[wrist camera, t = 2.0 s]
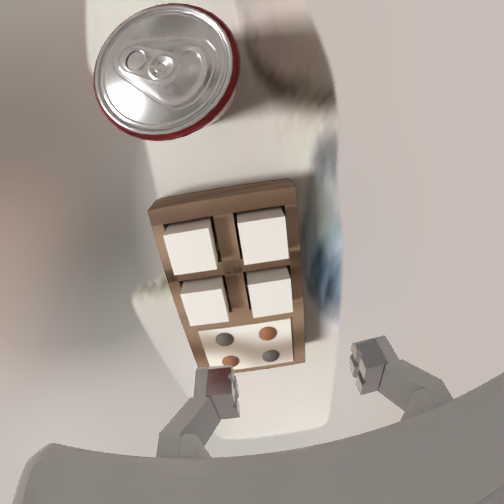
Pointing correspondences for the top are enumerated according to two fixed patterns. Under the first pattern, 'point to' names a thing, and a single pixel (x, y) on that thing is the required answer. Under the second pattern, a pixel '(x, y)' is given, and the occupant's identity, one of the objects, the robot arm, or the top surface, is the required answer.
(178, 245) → the button
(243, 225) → the button
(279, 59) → the top surface
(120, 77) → the soda can
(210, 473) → the robot arm
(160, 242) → the button board
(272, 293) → the button
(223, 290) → the button
